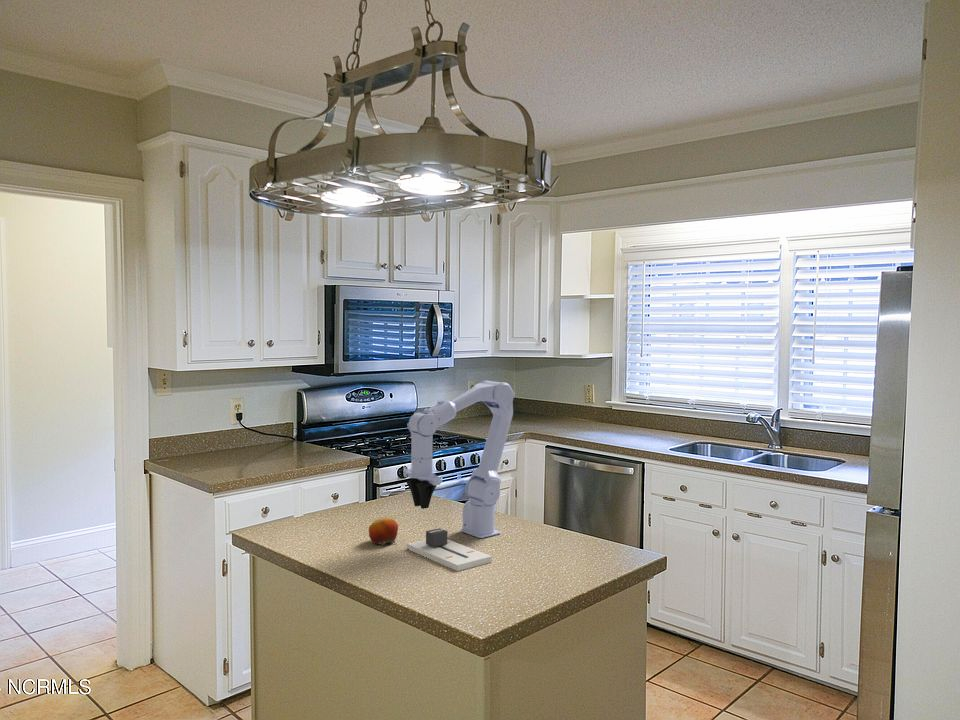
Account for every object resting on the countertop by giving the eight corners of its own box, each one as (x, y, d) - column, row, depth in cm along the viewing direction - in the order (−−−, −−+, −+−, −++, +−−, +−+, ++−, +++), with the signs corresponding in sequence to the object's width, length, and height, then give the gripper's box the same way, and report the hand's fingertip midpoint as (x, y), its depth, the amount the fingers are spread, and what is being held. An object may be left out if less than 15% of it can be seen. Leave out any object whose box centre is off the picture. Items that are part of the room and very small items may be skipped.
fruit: (383, 545, 194) (375, 516, 197) (369, 554, 199) (361, 526, 202) (408, 539, 199) (399, 511, 202) (394, 548, 205) (385, 521, 207)
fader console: (406, 549, 195) (406, 543, 195) (439, 541, 202) (439, 536, 202) (457, 571, 178) (457, 564, 178) (491, 562, 185) (491, 555, 185)
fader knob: (425, 544, 194) (426, 530, 194) (439, 541, 197) (439, 527, 197) (433, 547, 191) (433, 533, 191) (447, 544, 194) (447, 530, 194)
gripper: (394, 455, 201) (394, 503, 202) (425, 463, 190) (425, 514, 191) (415, 452, 206) (415, 500, 207) (447, 460, 195) (446, 510, 195)
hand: (421, 506), depth 199 cm, fingers closed
